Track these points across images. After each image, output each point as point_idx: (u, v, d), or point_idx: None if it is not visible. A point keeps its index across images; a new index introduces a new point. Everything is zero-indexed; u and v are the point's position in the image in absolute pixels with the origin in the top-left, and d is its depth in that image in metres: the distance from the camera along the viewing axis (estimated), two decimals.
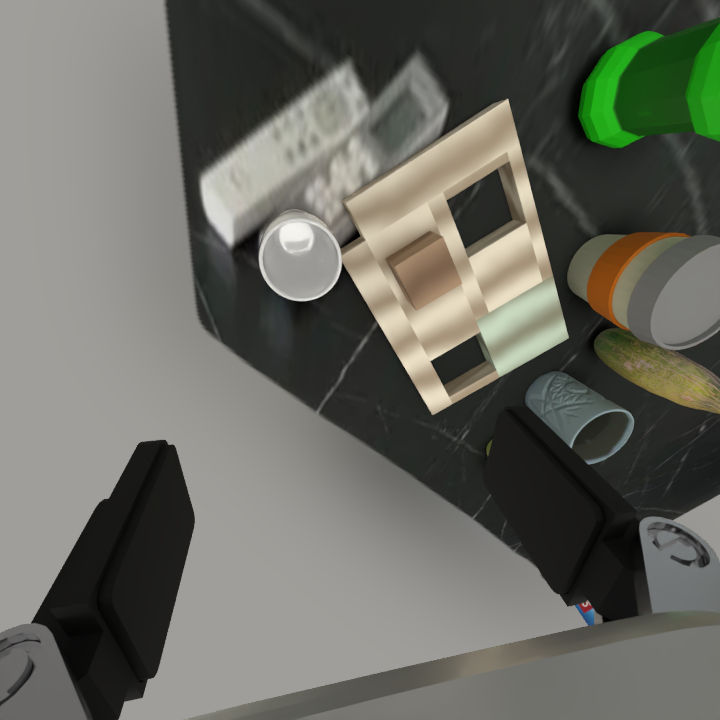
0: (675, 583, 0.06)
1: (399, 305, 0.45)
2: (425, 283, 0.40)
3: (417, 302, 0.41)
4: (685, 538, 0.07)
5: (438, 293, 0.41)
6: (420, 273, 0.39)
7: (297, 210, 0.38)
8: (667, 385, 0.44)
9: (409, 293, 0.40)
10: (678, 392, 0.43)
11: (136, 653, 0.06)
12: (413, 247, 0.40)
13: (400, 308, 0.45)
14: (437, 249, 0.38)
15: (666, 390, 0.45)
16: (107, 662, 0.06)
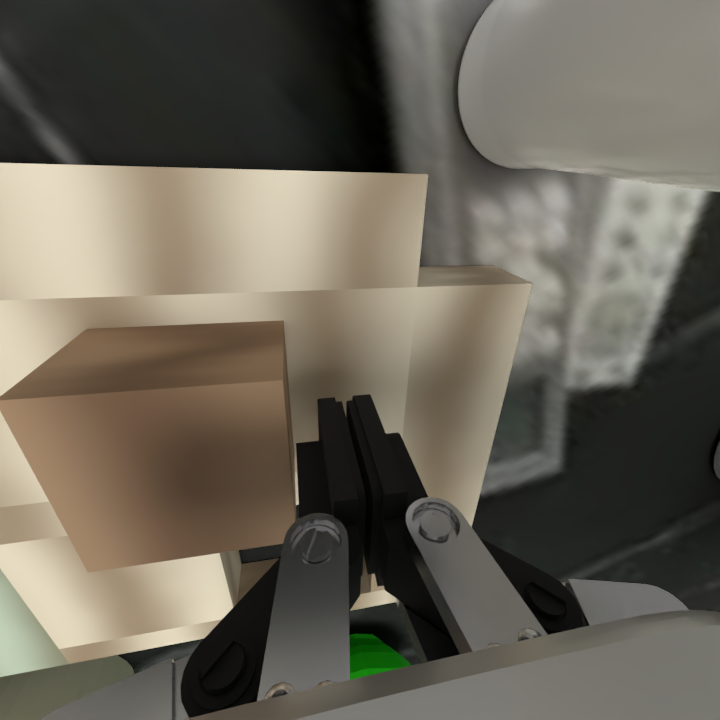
0: (454, 570, 0.06)
1: (129, 293, 0.11)
2: (146, 465, 0.09)
3: (50, 416, 0.08)
4: (434, 505, 0.08)
5: (71, 498, 0.09)
6: (200, 459, 0.09)
7: None
8: None
9: (119, 397, 0.08)
10: None
11: (363, 550, 0.08)
12: (290, 429, 0.12)
13: (112, 291, 0.11)
14: (264, 522, 0.11)
15: None
16: None
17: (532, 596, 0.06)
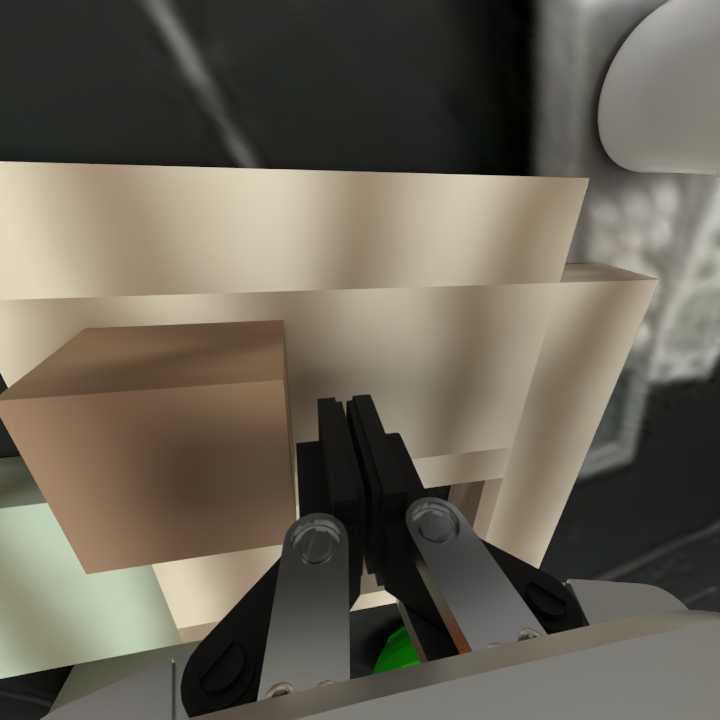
0: (454, 570, 0.06)
1: (314, 287, 0.12)
2: (146, 466, 0.09)
3: (48, 416, 0.08)
4: (435, 505, 0.08)
5: (69, 499, 0.09)
6: (200, 460, 0.09)
7: None
8: None
9: (118, 397, 0.08)
10: None
11: (363, 550, 0.08)
12: (290, 429, 0.12)
13: (300, 285, 0.12)
14: (265, 523, 0.11)
15: None
16: None
17: (532, 596, 0.06)
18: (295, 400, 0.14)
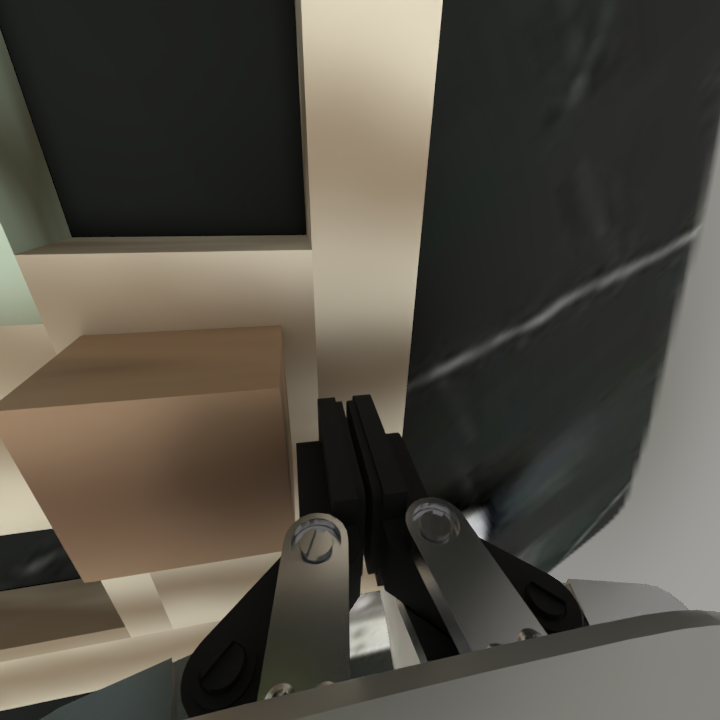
0: (454, 570, 0.06)
1: None
2: (200, 475, 0.09)
3: (262, 419, 0.09)
4: (434, 505, 0.08)
5: (145, 417, 0.08)
6: (209, 510, 0.10)
7: None
8: None
9: (281, 463, 0.10)
10: None
11: (363, 550, 0.08)
12: None
13: None
14: (115, 557, 0.10)
15: None
16: None
17: (532, 596, 0.06)
18: None
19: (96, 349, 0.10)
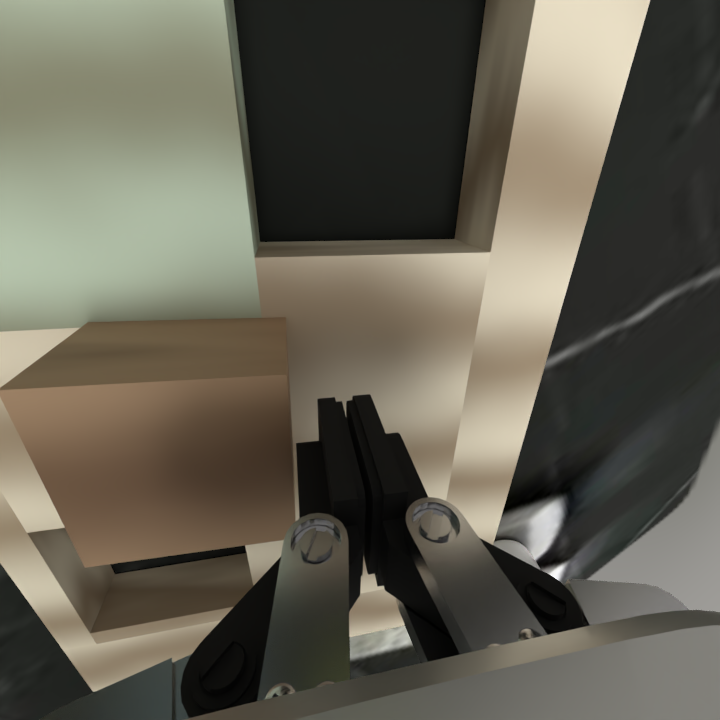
0: (454, 570, 0.06)
1: (454, 463, 0.17)
2: (204, 460, 0.09)
3: (268, 406, 0.09)
4: (434, 505, 0.08)
5: (154, 399, 0.08)
6: (212, 495, 0.10)
7: None
8: None
9: (285, 450, 0.10)
10: None
11: (363, 550, 0.08)
12: None
13: (457, 456, 0.17)
14: (117, 541, 0.10)
15: None
16: None
17: (532, 596, 0.06)
18: None
19: (103, 335, 0.10)
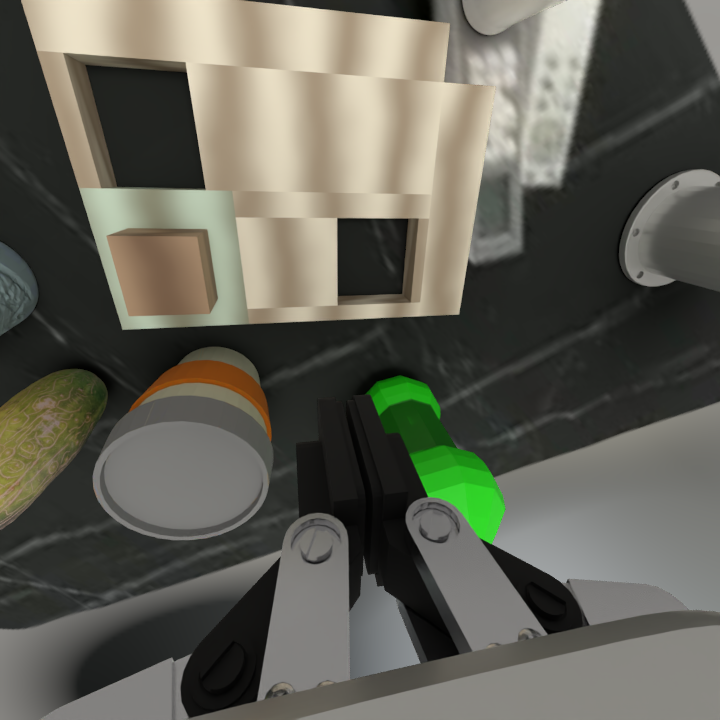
0: (454, 570, 0.06)
1: (327, 71, 0.26)
2: (151, 267, 0.26)
3: (121, 243, 0.25)
4: (434, 505, 0.08)
5: (125, 278, 0.26)
6: (170, 267, 0.27)
7: None
8: None
9: (143, 238, 0.25)
10: None
11: (363, 550, 0.08)
12: (209, 272, 0.29)
13: (321, 70, 0.26)
14: (196, 301, 0.28)
15: None
16: None
17: (532, 596, 0.06)
18: (317, 140, 0.28)
19: None
